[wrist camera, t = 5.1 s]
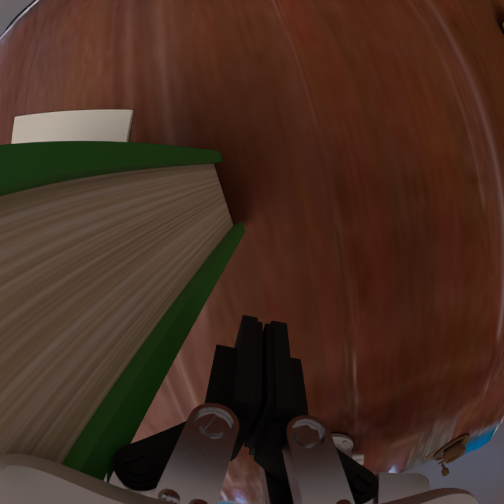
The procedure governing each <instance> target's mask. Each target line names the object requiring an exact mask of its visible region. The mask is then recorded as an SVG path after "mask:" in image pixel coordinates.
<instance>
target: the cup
mask: <svg viewBox="0 0 504 504" xmlns="http://www.w3.org/2000/svg"><path fill="white" fill-rule="evenodd" d="M500 25H501V28H502V31H503V32H504V20H502V21H501V23H500Z"/></svg>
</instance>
